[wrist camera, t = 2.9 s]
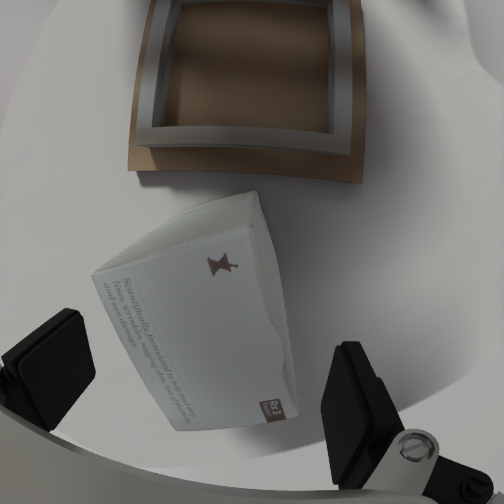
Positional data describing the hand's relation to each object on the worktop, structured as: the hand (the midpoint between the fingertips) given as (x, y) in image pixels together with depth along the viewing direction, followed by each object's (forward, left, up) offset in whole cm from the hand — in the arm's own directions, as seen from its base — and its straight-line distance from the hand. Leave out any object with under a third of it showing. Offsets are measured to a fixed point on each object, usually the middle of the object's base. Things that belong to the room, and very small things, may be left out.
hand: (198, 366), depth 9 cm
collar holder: (-15, 0, -15) cm, 21 cm away
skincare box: (0, 0, -15) cm, 15 cm away
